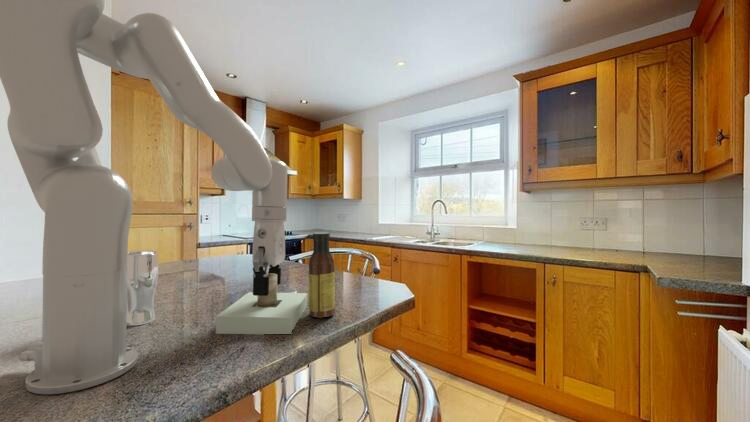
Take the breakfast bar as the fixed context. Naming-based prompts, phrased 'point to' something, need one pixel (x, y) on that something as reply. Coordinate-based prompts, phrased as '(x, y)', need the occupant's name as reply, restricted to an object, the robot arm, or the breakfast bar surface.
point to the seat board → (262, 315)
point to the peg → (272, 296)
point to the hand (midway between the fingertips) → (267, 289)
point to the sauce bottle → (321, 278)
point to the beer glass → (141, 286)
